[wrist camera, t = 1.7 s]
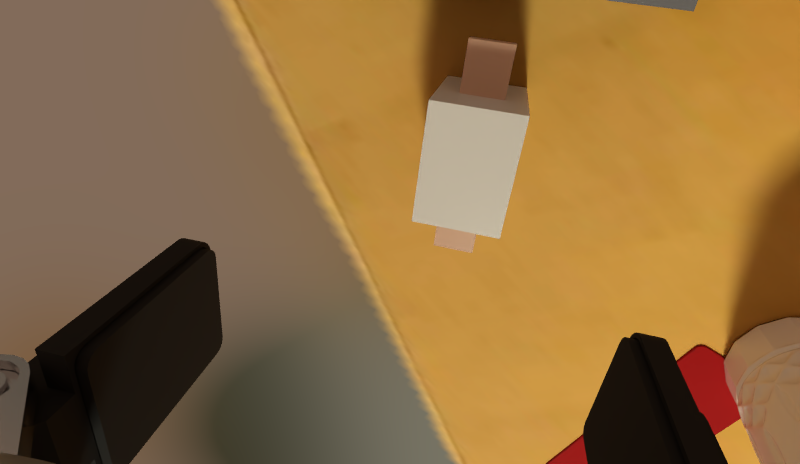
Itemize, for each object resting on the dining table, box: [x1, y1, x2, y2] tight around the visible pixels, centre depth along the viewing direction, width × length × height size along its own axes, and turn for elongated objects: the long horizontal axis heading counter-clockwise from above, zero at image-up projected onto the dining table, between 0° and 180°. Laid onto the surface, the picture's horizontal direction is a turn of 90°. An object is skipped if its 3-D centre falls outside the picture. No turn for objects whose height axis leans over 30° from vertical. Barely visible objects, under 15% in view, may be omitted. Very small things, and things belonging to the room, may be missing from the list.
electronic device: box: [546, 345, 741, 464], centre depth 32 cm, size 6×1×15 cm
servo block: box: [412, 36, 530, 253], centre depth 23 cm, size 4×10×6 cm, turn 174°
